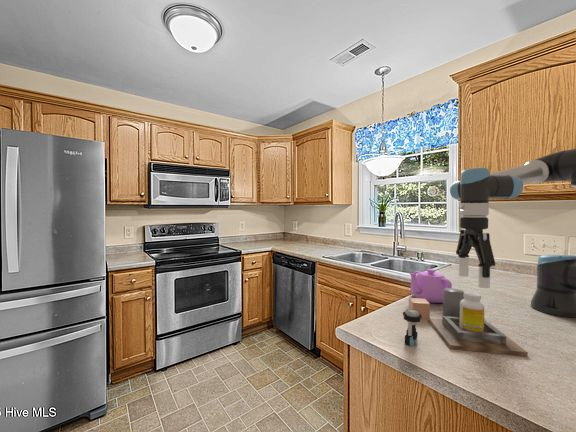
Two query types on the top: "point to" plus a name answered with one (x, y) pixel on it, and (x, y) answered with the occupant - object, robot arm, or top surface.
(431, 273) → the teapot
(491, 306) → the top surface
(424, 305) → the terracotta block
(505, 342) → the socket board
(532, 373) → the top surface
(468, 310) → the supplement bottle
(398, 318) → the top surface
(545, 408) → the top surface
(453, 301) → the grey rounded capsule
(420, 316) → the push button
